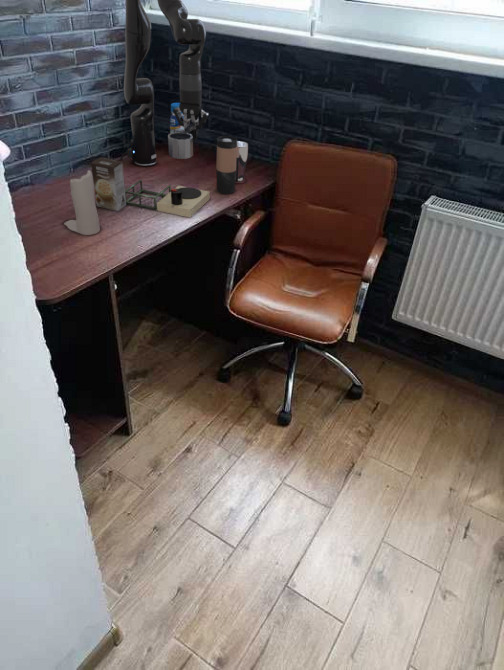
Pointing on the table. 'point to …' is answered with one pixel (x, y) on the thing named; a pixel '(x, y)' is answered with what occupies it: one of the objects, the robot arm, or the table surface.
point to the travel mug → (226, 164)
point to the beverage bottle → (175, 120)
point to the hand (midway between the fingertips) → (191, 139)
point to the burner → (190, 193)
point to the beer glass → (241, 161)
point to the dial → (176, 196)
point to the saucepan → (181, 144)
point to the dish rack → (144, 195)
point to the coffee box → (109, 183)
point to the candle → (84, 206)
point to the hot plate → (183, 204)
